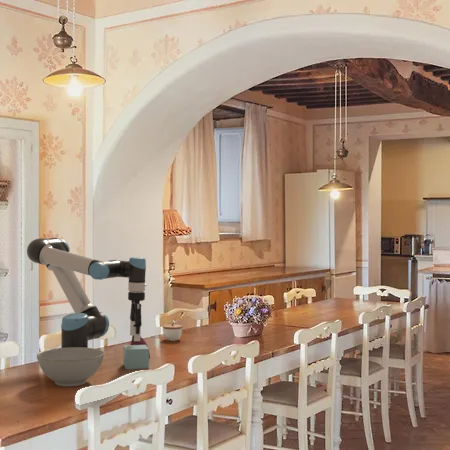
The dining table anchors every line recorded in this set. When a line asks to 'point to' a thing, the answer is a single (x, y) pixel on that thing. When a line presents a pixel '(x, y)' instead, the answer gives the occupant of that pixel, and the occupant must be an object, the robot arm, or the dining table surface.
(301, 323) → the dining table surface
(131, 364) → the rounded blue-grey cube
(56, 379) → the decorative bowl
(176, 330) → the lidded jar
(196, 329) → the dining table surface
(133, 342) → the vegetable
